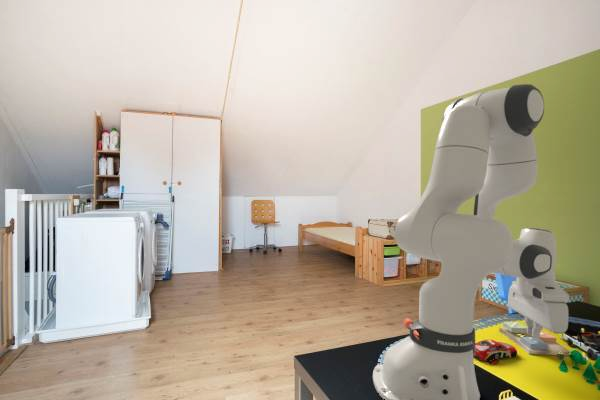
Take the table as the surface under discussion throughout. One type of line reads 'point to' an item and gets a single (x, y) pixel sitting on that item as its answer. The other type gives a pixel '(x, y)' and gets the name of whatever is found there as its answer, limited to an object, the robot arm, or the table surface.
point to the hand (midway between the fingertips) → (533, 335)
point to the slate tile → (534, 343)
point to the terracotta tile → (546, 337)
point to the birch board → (552, 349)
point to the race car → (494, 350)
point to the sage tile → (515, 327)
